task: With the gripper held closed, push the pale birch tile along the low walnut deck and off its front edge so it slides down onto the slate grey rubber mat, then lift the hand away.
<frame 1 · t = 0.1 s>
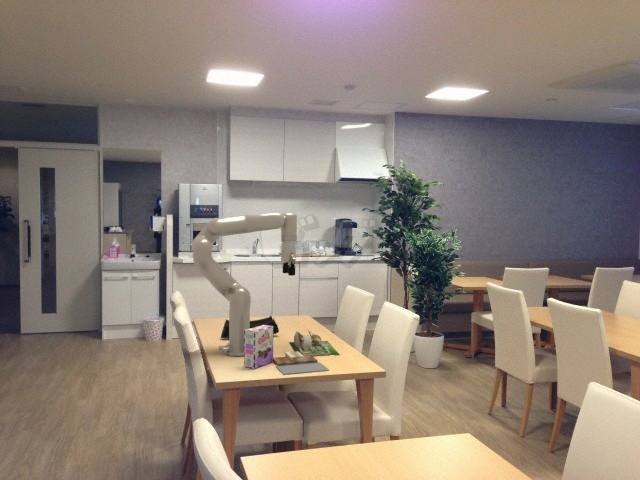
hand: (288, 274, 271), 37 cm above the table, tool pointing down, fingers open, 9 cm apart
walnut deck: (294, 362, 250), on the table
birch tile: (294, 356, 251), point 2 cm above the table, touching walnut deck
magazine: (250, 338, 297), on the table
slate mat: (302, 368, 240), on the table
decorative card: (312, 349, 278), on the table
candy box: (258, 365, 246), on the table
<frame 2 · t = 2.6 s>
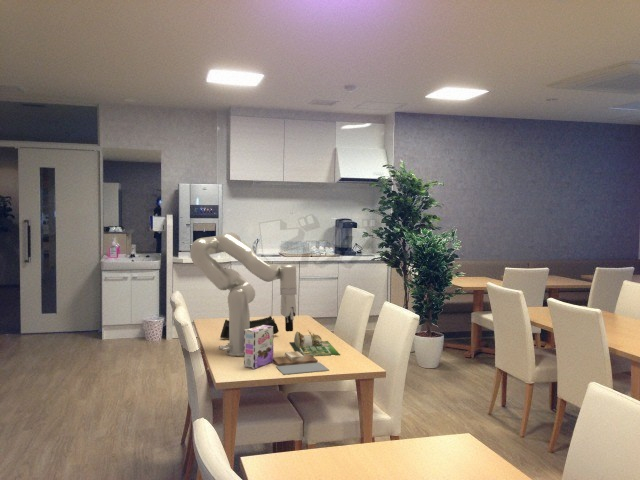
hand: (289, 330, 260), 12 cm above the table, tool pointing down, fingers closed
nothing on the table moved.
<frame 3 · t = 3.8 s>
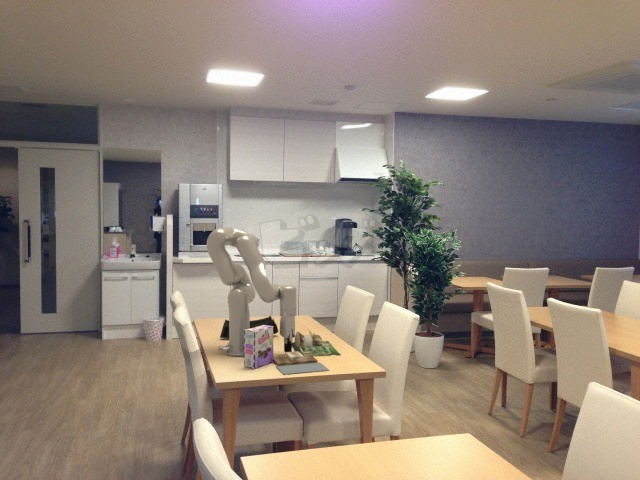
hand: (287, 351, 260), 2 cm above the table, tool pointing down, fingers closed
nothing on the table moved.
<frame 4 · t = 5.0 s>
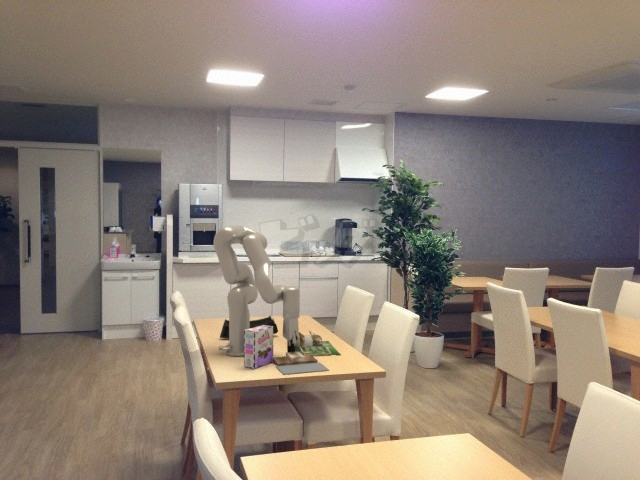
hand: (291, 354, 256), 2 cm above the table, tool pointing down, fingers closed
birch tile: (295, 356, 250), point 2 cm above the table, touching gripper, walnut deck
everything else where it was.
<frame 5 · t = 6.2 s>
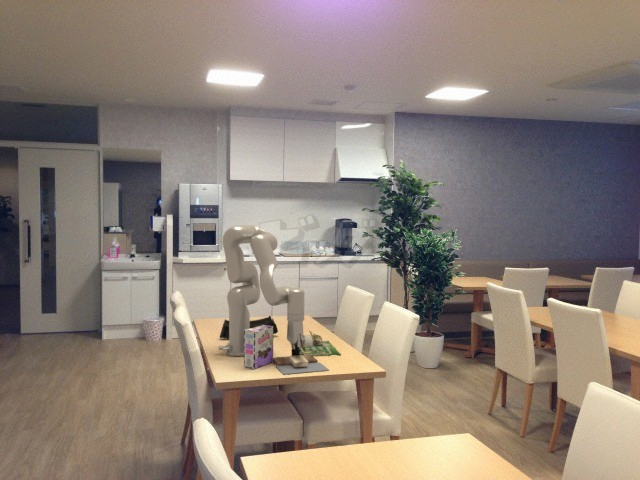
hand: (295, 357, 249), 2 cm above the table, tool pointing down, fingers closed
birch tile: (298, 361, 244), point 2 cm above the table, touching gripper
everything else where it was.
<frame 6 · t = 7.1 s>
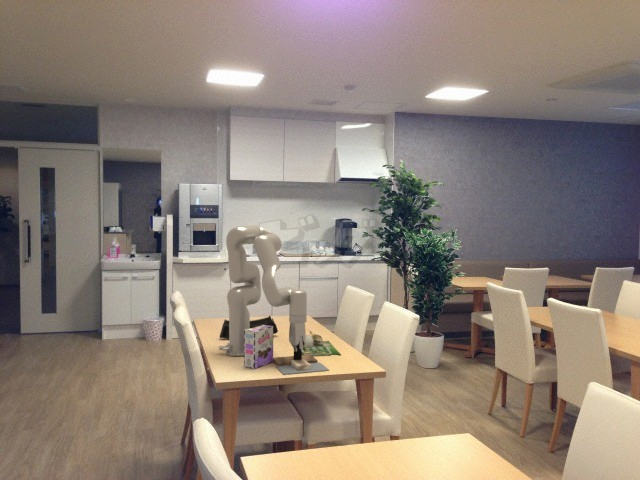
hand: (297, 359, 246), 2 cm above the table, tool pointing down, fingers closed
birch tile: (300, 364, 241), point 1 cm above the table, touching gripper, slate mat
everything else where it was.
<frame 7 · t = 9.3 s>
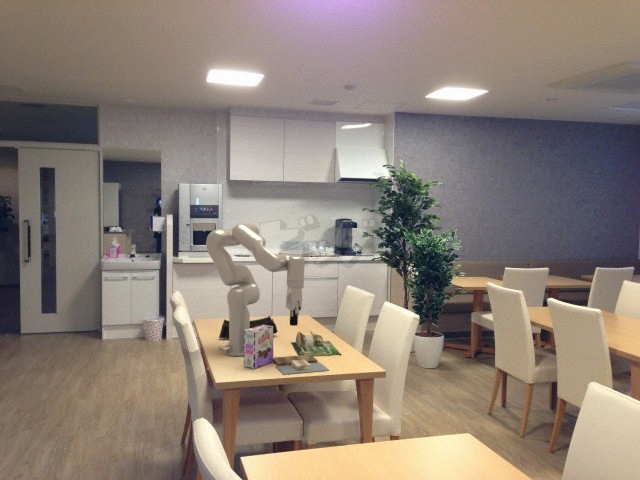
hand: (293, 325, 250), 17 cm above the table, tool pointing down, fingers closed
birch tile: (300, 365, 241), point 1 cm above the table, touching slate mat
everything else where it was.
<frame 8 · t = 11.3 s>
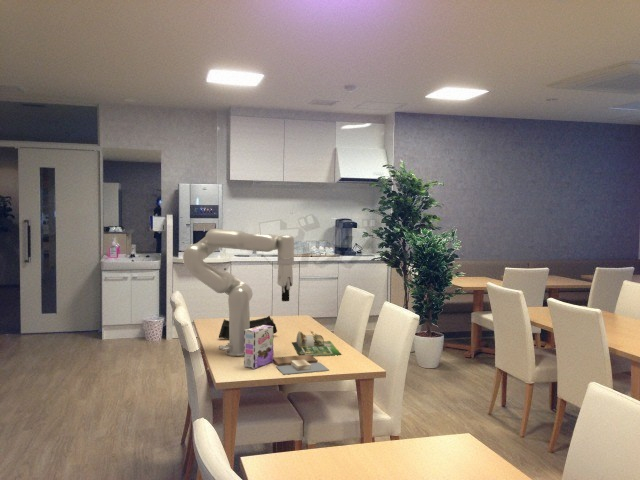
hand: (285, 300, 263), 25 cm above the table, tool pointing down, fingers closed
at the end: birch tile inside the target area on the slate mat (1.1 cm from its centre), point 1.4 cm above the slate mat's base; birch tile touching slate mat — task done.
